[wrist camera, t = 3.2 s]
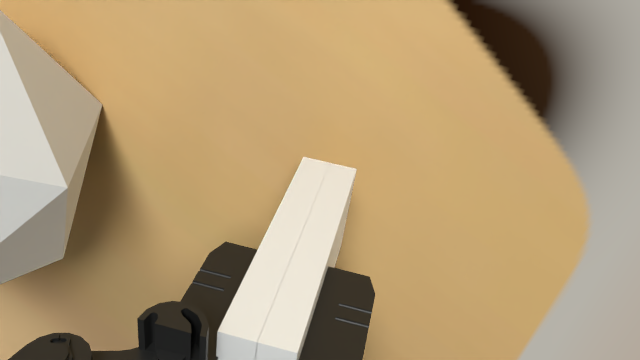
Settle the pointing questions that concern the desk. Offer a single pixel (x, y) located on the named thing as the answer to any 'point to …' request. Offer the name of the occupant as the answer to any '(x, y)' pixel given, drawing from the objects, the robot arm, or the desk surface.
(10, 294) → the desk surface
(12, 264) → the die
